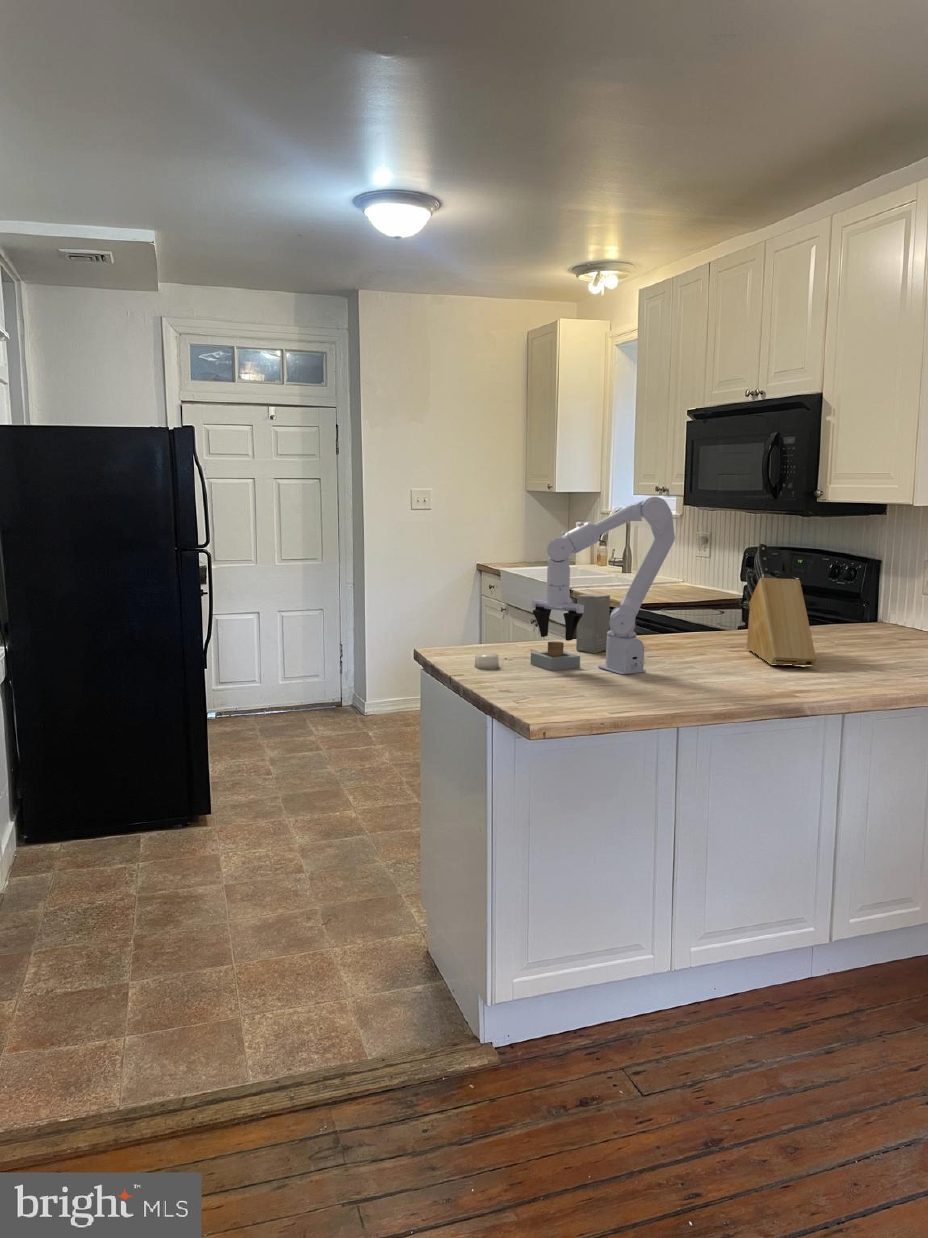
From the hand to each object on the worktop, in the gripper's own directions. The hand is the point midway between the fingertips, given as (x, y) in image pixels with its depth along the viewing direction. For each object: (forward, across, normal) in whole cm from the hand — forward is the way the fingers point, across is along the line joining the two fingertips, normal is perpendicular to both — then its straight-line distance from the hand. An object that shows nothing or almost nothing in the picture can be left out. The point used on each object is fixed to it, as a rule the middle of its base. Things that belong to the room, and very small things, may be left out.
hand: (556, 638), depth 228 cm
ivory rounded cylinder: (+7, +12, +13) cm, 19 cm away
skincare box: (+7, +5, -26) cm, 27 cm away
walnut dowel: (+7, 0, 0) cm, 7 cm away
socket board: (+7, 0, 0) cm, 7 cm away
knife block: (+8, -36, -55) cm, 66 cm away
